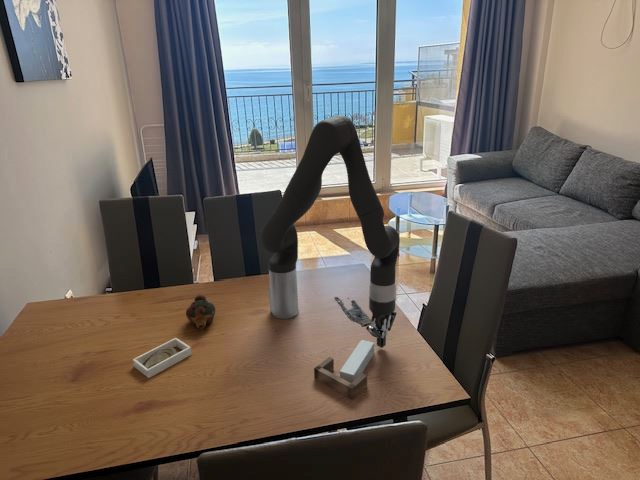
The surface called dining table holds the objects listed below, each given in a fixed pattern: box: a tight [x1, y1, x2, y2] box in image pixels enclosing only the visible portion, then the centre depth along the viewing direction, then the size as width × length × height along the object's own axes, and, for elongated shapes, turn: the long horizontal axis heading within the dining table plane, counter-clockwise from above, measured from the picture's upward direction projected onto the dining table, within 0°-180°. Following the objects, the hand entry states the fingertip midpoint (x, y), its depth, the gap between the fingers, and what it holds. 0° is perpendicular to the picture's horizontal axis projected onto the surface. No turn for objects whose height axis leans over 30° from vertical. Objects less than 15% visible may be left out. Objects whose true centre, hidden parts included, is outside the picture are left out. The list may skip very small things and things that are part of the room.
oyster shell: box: [142, 347, 178, 369], centre depth 130 cm, size 6×4×10 cm
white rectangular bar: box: [339, 339, 375, 383], centre depth 125 cm, size 4×16×4 cm, turn 154°
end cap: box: [313, 356, 368, 400], centre depth 119 cm, size 13×6×4 cm, turn 49°
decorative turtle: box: [185, 293, 216, 330], centre depth 150 cm, size 10×15×8 cm, turn 19°
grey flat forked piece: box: [334, 296, 372, 327], centre depth 154 cm, size 21×7×2 cm, turn 17°
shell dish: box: [132, 337, 193, 379], centre depth 131 cm, size 8×14×2 cm, turn 139°
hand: (381, 345), depth 133 cm, fingers closed
